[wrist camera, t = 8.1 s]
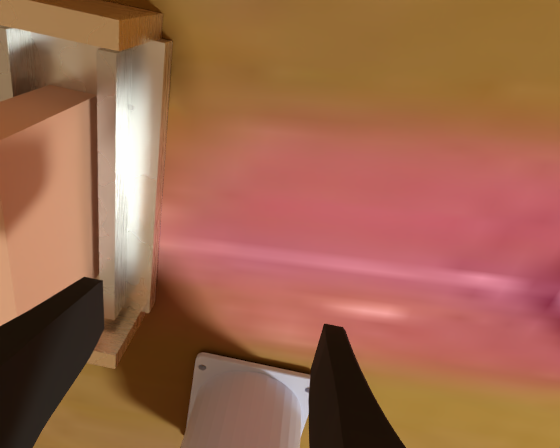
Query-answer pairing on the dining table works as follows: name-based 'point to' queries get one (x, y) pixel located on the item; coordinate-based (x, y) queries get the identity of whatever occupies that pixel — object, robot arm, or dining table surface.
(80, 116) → the door panel
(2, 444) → the robot arm
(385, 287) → the dining table surface
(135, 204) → the door track
